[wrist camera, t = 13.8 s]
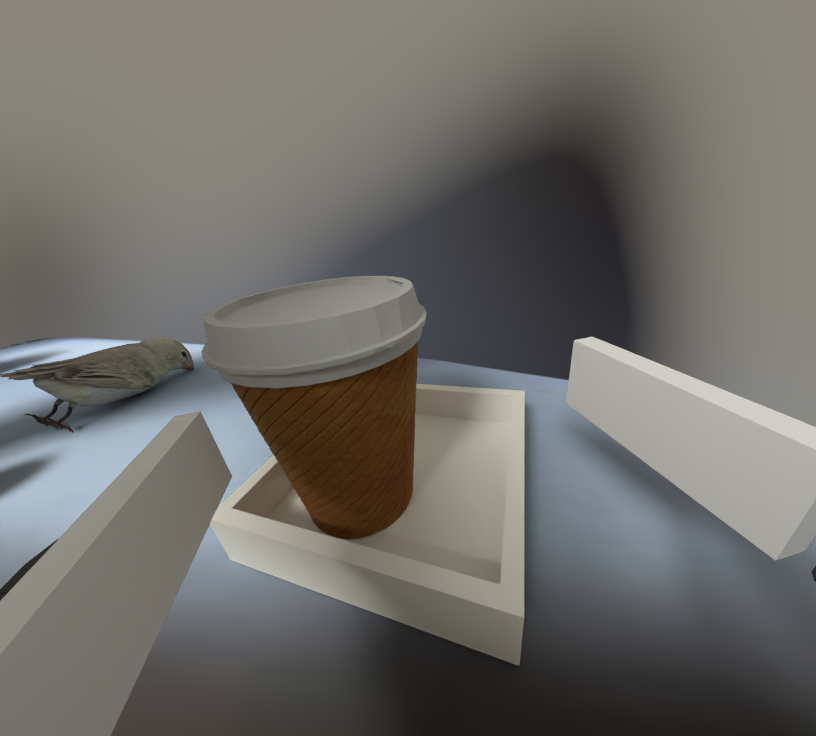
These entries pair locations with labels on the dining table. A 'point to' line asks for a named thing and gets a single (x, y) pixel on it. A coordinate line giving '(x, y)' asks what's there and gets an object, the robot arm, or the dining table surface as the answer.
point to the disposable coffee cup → (330, 390)
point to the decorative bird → (106, 374)
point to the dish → (413, 528)
